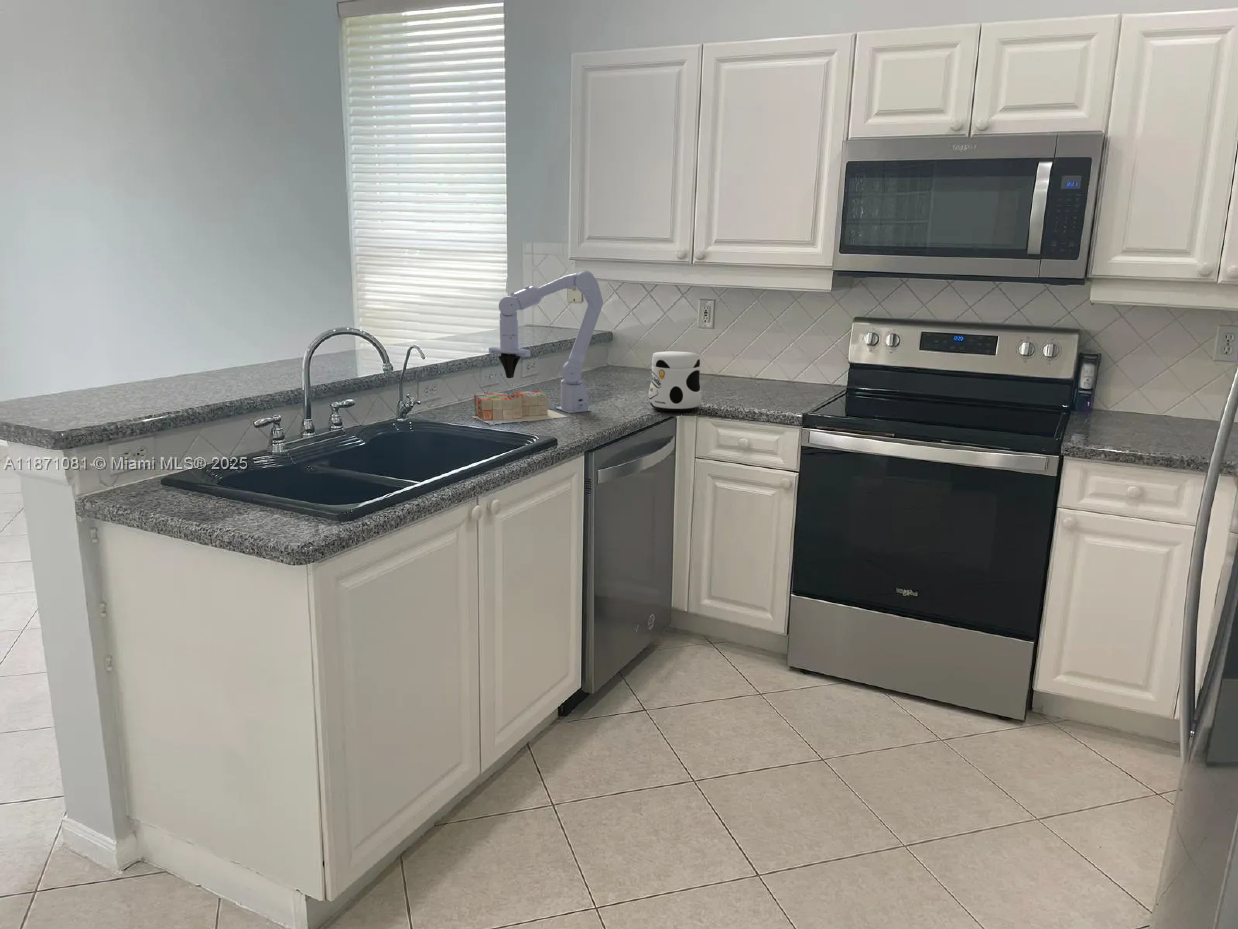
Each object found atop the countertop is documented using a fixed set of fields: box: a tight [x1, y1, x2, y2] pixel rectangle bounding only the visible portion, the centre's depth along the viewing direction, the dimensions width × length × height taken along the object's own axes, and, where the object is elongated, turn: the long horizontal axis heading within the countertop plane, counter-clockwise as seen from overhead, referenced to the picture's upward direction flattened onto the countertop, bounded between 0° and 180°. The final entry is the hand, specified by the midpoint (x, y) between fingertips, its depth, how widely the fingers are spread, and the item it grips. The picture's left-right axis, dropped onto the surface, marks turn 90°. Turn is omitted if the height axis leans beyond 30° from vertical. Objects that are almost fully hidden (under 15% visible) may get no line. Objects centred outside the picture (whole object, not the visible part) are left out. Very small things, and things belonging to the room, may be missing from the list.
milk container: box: [648, 350, 703, 412], centre depth 292 cm, size 17×17×18 cm
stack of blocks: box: [473, 390, 549, 421], centre depth 280 cm, size 21×6×12 cm
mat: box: [471, 409, 569, 426], centre depth 279 cm, size 14×26×1 cm, turn 122°
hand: (510, 377), depth 288 cm, fingers closed
